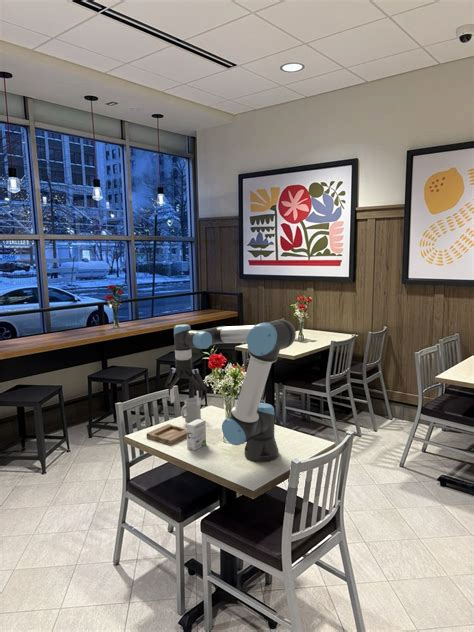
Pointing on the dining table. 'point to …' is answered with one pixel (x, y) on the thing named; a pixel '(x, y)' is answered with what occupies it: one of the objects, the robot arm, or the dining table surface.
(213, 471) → the dining table surface
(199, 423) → the ink box
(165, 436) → the tray
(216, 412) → the dining table surface
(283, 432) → the dining table surface
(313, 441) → the dining table surface
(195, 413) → the mug
